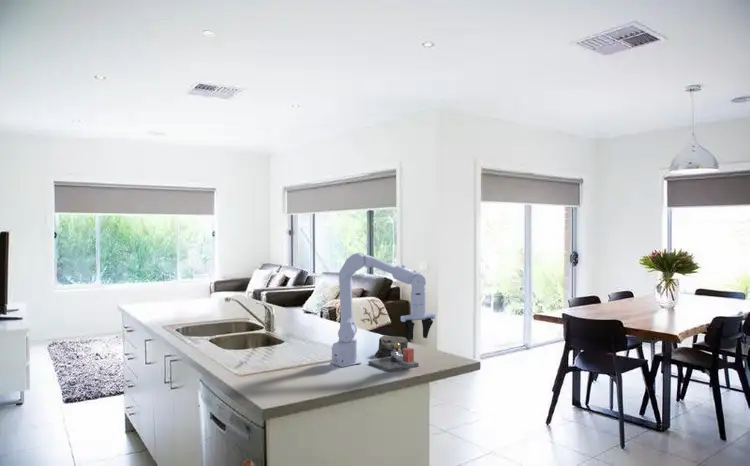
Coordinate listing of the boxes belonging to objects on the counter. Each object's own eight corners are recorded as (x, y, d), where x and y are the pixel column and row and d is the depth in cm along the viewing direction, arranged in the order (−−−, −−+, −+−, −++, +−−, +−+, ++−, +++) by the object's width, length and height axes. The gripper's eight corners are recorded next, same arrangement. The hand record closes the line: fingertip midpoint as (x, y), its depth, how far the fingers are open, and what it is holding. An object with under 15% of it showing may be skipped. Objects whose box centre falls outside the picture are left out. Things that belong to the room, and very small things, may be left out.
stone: (391, 354, 212) (380, 332, 216) (376, 363, 216) (366, 341, 220) (415, 348, 227) (405, 328, 230) (401, 357, 231) (391, 337, 235)
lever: (389, 358, 209) (389, 344, 209) (395, 357, 210) (395, 343, 210) (407, 364, 199) (407, 350, 199) (413, 363, 201) (413, 349, 201)
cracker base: (390, 371, 194) (390, 353, 194) (368, 364, 206) (368, 346, 206) (419, 365, 203) (419, 348, 203) (396, 358, 214) (396, 341, 214)
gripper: (428, 301, 211) (428, 335, 211) (397, 303, 205) (396, 338, 205) (438, 303, 205) (437, 338, 205) (405, 306, 199) (405, 341, 199)
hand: (418, 338), depth 204 cm, fingers open, 6 cm apart
